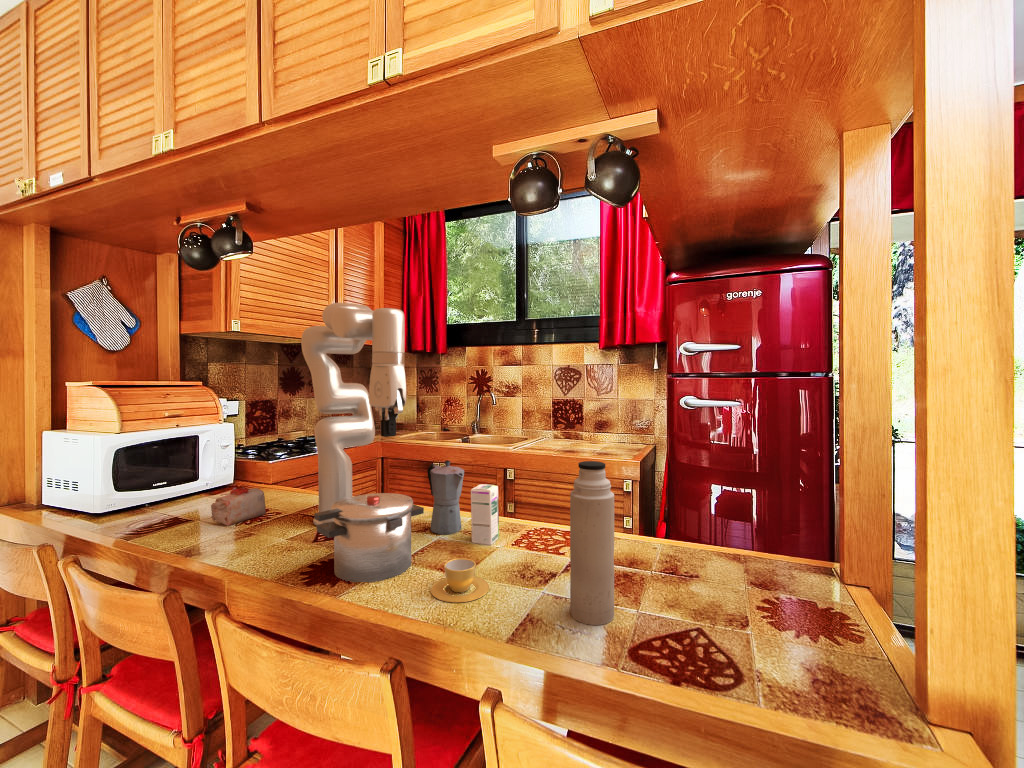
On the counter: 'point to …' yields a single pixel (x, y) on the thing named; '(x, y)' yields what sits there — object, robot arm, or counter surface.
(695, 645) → the counter surface
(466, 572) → the cup
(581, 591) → the thermos bottle
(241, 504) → the food item
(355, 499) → the lid
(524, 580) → the counter surface
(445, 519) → the moka pot
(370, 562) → the pot
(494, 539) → the syrup box
